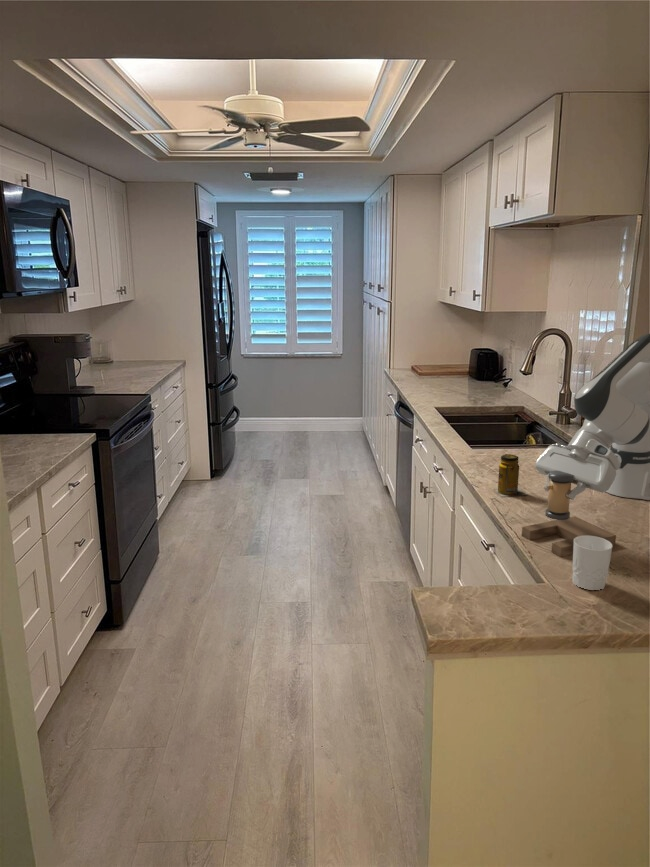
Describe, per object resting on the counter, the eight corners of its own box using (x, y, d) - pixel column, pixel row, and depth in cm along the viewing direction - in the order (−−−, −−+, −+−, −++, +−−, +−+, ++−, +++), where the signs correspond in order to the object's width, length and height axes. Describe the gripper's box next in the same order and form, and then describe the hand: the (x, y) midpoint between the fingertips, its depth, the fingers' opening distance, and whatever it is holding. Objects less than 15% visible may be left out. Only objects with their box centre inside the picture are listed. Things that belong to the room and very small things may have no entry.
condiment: (493, 489, 200) (495, 453, 197) (518, 488, 201) (521, 452, 198) (501, 497, 193) (504, 460, 190) (528, 496, 194) (530, 459, 191)
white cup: (615, 589, 137) (620, 547, 134) (585, 595, 135) (589, 552, 132) (591, 573, 144) (595, 533, 142) (562, 578, 142) (566, 537, 140)
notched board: (574, 524, 172) (574, 516, 171) (615, 544, 159) (616, 535, 159) (521, 535, 165) (522, 526, 164) (560, 557, 153) (561, 547, 152)
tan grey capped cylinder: (557, 510, 162) (561, 469, 159) (574, 517, 157) (578, 476, 154) (536, 514, 159) (539, 473, 157) (553, 522, 154) (556, 479, 152)
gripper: (547, 435, 166) (519, 476, 163) (617, 452, 149) (588, 499, 147) (556, 448, 170) (530, 489, 167) (627, 467, 153) (598, 513, 150)
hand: (557, 494), depth 157 cm, fingers closed on tan grey capped cylinder, 5 cm apart
